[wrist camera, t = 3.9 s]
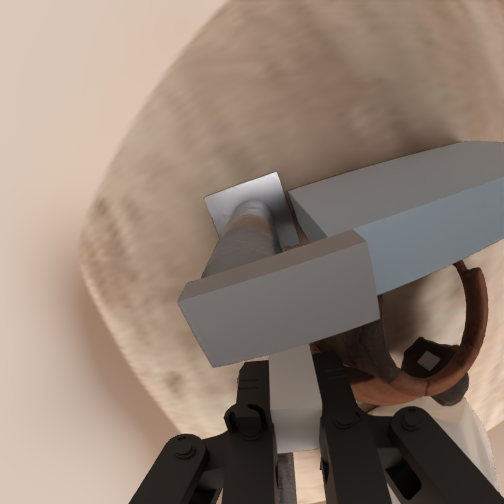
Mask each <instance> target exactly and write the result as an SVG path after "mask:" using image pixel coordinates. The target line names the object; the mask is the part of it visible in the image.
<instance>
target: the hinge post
mask: <svg viewBox="0 0 504 504" xmlns="http://www.w3.org/2000/svg"><path fill="white" fill-rule="evenodd" d="M204 199H205V202H206V205H207V207H208V210H209V212H210V215H211V217H212V220H213V222H214V225H215V227H216V230H217V232H218V235H219V238H220V239H219V241H218V244H217V246H216V248H215V250H214V252H213V254H212V256H211V258H210V260H209V262H208V264H207V266H206V268H205V270H204V272H203V274H202V277H201V279H202V278H205V277H208V276H211V275H214V274H217V273H221V272H224V271H227V270H230V269H233V268H236V267H239V266H242V265H245V264H248V263H251V262H255V261H258V260H261V259H264V258H267V257H270V256H273V255H276V254H279V253H282V250H281V249H283V248H286V247H289V246H292V245H296V244H299V243H300V241H299V238H298V235H297V231H296V228H295V225H294V222H293V219H292V216H291V213H290V210H289V207H288V204H287V201H286V198H285V195H284V192H283V189H282V186H281V183H280V180H279V177H278V175H277V172H274V173H271V174H268V175H265V176H262V177H259V178H256V179H253V180H250V181H247V182H244V183H242V184H239V185H236V186H233V187H231V188H228V189H225V190H222V191H220V192H217V193H214V194H212V195H209V196H207V197H205V198H204Z"/></svg>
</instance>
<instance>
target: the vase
mask: <svg viewBox="0 0 504 504" xmlns="http://www.w3.org/2000/svg"><path fill="white" fill-rule="evenodd" d="M407 406H416V407H420V408H422V409H424V410H425V411H427V412H428V413H429V414H430V415H431V417H432V418H433V419H434V420H435V421H436V422H437V423H438V424H439V425H440V426H441V428H442V429H443V430H444V431H445V432H446V433H447V434H448V435H449V436H450V437H451V439H452V440H453V441H454V442H455V443H456V444H457V445H458V446H459V448H460V449H461V450H462V451H463V452H464V453H465V454H466V455H467V456H468V458H469V459H470V460H471V461H472V462H473V463H474V464H475V466H476V467H477V468H478V469H479V470H480V471H481V472H482V474H483V475H484V476H485V477H486V478H487V479H488V480H489V482H490V483H491V484H492V485H493V486H494V487H495V489H496V490H497V491H498V492H499V485H498V479H497V473H496V468H495V463H494V458H493V454H492V449H491V446H490V442H489V439H488V435H487V432H486V430H485V427H484V425H483V424H482V422H481V421H480V419H479V418H478V416H477V415H476V413H475V412H474V410H473V409H472V407H471V406H470V404H469V403H468V402H467V400H466V398H465V397H464V396H463V398H462V400H461V401H460V402H459V403H457V404H456V405H453V406H442V405H440V404H438V403H437V402H436V401H435V400H434V399H432V398H431V397H430V396H423V397H421V398H417V399H416V400H414V401H411V402H408V403H404V404H399V405H392V406H382V405H380V406H379V407H377V408H375V409H374V410H372V411H370V412H368V413H367V414H370V415H374V416H394V414H395V413H396V412H397V411H398V410H400V409H401V408H404V407H407ZM387 486H388V489H389V493H390V496H391V500H392V504H401V503H400V502H399V500H398V499H397V497H396V496H395V494H394V493H393V491H392V490H391V488H390V487H389V485H388V484H387ZM499 493H500V492H499Z"/></svg>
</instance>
